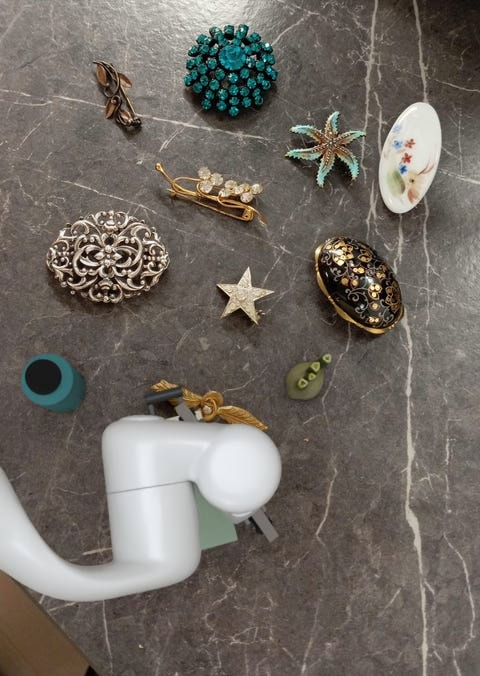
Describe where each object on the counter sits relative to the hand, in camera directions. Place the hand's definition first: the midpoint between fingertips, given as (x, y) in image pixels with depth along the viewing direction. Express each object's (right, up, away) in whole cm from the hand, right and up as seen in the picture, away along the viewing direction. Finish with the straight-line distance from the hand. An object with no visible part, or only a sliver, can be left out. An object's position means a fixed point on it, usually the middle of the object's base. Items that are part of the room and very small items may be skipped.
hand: (222, 471), depth 103 cm
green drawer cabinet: (-5, -9, +17) cm, 19 cm away
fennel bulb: (+11, +7, +22) cm, 25 cm away
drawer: (-7, 0, +18) cm, 19 cm away
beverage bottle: (-22, +6, +19) cm, 30 cm away
